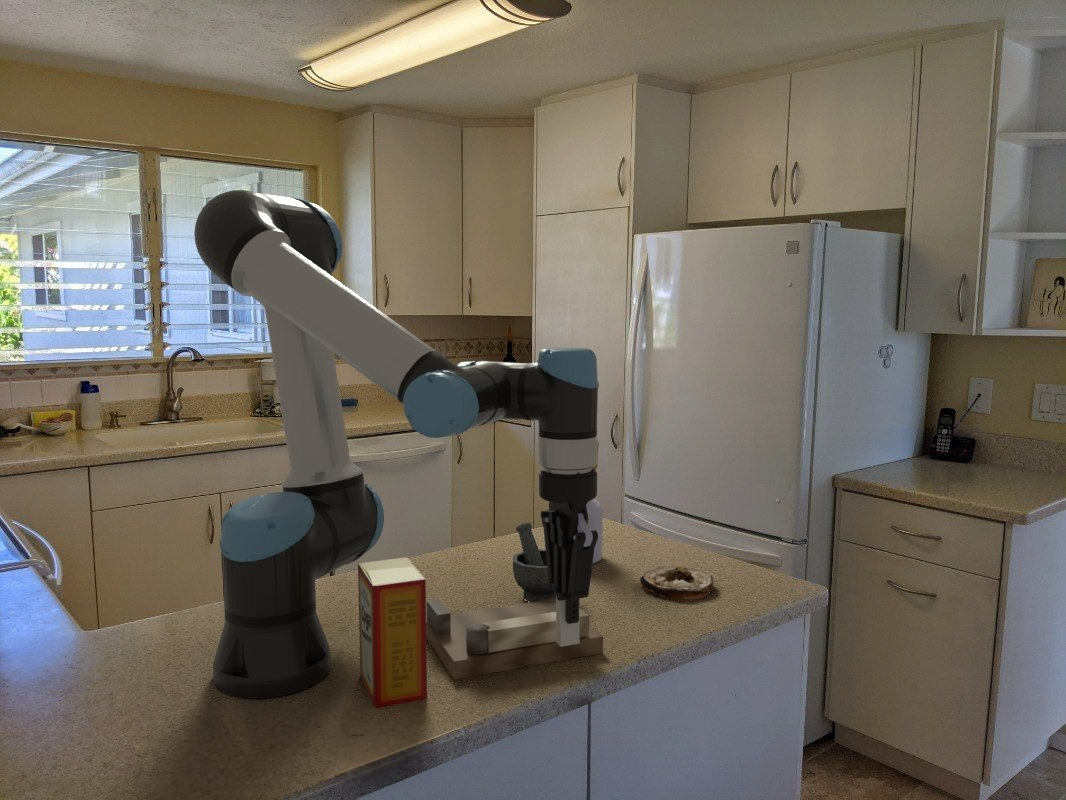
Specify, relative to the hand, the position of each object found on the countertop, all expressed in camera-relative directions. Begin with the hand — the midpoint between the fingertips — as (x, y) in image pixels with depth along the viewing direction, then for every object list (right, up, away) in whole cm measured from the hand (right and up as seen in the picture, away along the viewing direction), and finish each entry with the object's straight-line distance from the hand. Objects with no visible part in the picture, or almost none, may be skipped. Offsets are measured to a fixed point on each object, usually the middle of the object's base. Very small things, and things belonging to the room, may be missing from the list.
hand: (567, 642), depth 110 cm
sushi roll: (+20, -1, +35) cm, 40 cm away
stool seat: (-8, -3, +12) cm, 14 cm away
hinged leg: (-5, -1, +6) cm, 8 cm away
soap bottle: (+4, +1, +51) cm, 51 cm away
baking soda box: (-23, -5, -2) cm, 24 cm away
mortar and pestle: (-4, -1, +30) cm, 31 cm away
